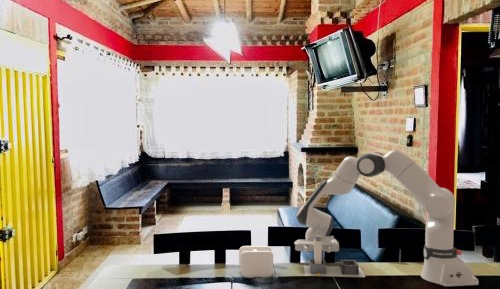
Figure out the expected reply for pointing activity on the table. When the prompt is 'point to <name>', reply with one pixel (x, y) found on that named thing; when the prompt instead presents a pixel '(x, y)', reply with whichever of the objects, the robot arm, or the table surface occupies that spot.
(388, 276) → the table surface
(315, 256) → the plug
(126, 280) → the table surface
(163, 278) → the table surface
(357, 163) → the robot arm
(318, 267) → the box
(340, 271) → the panel
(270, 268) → the cable organizer
